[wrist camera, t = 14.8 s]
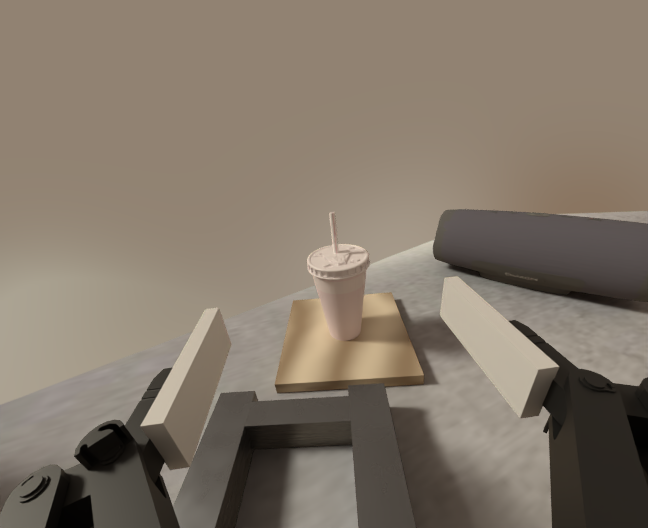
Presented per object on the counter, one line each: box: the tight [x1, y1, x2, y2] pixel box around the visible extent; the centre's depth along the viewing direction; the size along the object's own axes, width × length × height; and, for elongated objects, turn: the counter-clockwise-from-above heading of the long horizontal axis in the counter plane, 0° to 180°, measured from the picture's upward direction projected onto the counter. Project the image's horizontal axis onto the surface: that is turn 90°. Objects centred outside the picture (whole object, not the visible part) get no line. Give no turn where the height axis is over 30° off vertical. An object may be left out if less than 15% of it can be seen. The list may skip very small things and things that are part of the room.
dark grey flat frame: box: [173, 383, 416, 528], centre depth 16 cm, size 14×14×3 cm
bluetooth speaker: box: [433, 209, 648, 302], centre depth 35 cm, size 23×9×10 cm, turn 49°
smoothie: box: [307, 212, 370, 341], centre depth 27 cm, size 6×6×14 cm
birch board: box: [275, 293, 424, 393], centre depth 31 cm, size 14×14×1 cm
